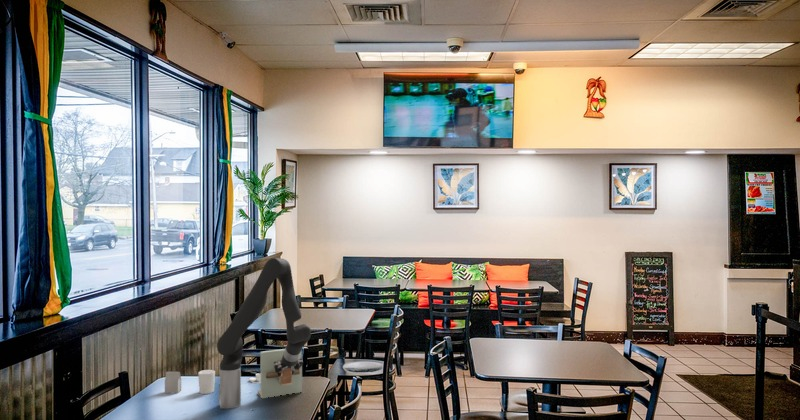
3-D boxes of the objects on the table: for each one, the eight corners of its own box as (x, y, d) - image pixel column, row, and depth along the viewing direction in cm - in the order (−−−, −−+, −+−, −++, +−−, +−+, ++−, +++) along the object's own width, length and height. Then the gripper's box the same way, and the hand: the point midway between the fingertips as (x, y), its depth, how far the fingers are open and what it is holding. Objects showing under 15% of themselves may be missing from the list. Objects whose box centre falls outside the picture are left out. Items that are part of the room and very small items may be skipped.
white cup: (217, 389, 283) (217, 369, 283) (210, 394, 275) (210, 374, 275) (202, 389, 284) (202, 369, 284) (195, 394, 276) (195, 373, 276)
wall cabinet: (292, 385, 265) (292, 364, 265) (282, 386, 263) (282, 365, 263) (287, 380, 273) (287, 359, 273) (277, 381, 271) (277, 361, 271)
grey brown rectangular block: (178, 393, 278) (178, 373, 278) (164, 393, 278) (164, 372, 278) (181, 390, 282) (181, 370, 282) (168, 390, 282) (168, 370, 282)
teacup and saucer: (246, 382, 296) (246, 374, 296) (257, 378, 303) (257, 371, 303) (259, 384, 292) (259, 377, 292) (269, 380, 299) (269, 373, 299)
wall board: (303, 393, 275) (303, 349, 276) (262, 400, 266) (262, 353, 267) (297, 388, 285) (297, 344, 285) (257, 393, 276) (257, 349, 276)
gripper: (305, 345, 263) (298, 365, 274) (274, 349, 257) (268, 368, 267) (308, 359, 258) (301, 378, 269) (277, 363, 252) (271, 383, 263)
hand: (285, 373), depth 268 cm, fingers closed on wall cabinet, 5 cm apart
